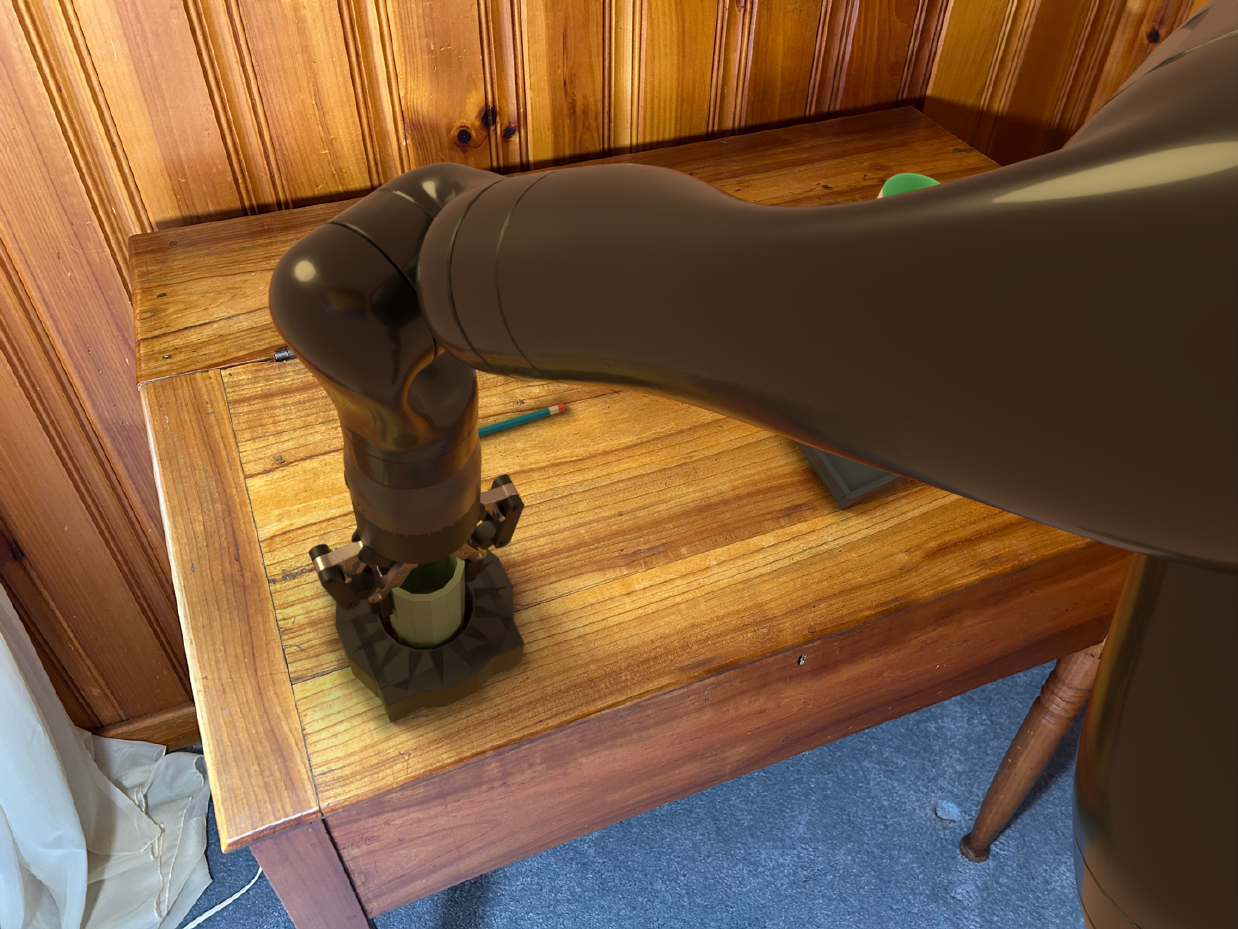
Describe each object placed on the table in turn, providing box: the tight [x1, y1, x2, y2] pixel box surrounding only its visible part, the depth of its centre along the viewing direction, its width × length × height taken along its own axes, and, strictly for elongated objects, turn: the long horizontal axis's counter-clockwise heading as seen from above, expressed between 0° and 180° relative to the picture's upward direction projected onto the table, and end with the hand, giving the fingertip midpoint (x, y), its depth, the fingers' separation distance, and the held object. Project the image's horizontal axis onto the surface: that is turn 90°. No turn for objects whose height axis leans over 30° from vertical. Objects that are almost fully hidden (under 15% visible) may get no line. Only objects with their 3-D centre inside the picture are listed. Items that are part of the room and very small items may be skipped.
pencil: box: [478, 402, 566, 438], centre depth 84 cm, size 1×17×1 cm, turn 116°
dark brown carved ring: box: [334, 548, 525, 723], centre depth 72 cm, size 13×13×4 cm
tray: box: [794, 441, 909, 510], centre depth 90 cm, size 17×13×2 cm
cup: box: [389, 554, 466, 650], centre depth 68 cm, size 6×6×11 cm
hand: (425, 587), depth 67 cm, fingers closed on cup, 5 cm apart
